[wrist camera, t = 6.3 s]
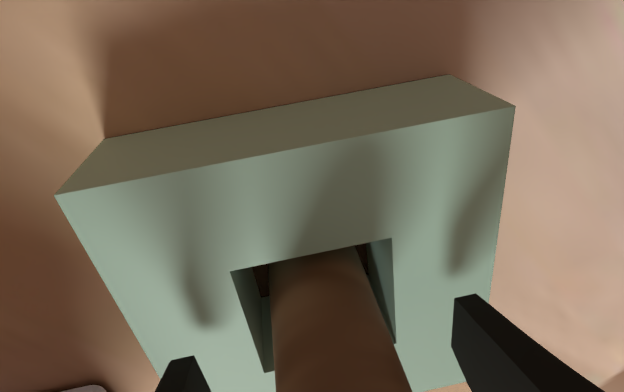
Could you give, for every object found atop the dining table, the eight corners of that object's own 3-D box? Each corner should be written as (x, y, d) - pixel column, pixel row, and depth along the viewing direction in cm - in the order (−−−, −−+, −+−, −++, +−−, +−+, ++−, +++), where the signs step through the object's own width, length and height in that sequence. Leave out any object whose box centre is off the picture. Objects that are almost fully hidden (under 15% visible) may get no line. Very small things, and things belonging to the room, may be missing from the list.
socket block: (206, 362, 17) (198, 443, 14) (103, 139, 12) (53, 195, 9) (439, 311, 18) (478, 378, 15) (449, 74, 12) (515, 106, 9)
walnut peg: (277, 280, 15) (301, 522, 9) (255, 216, 14) (263, 454, 7) (353, 260, 15) (437, 484, 9) (340, 194, 14) (431, 408, 7)
